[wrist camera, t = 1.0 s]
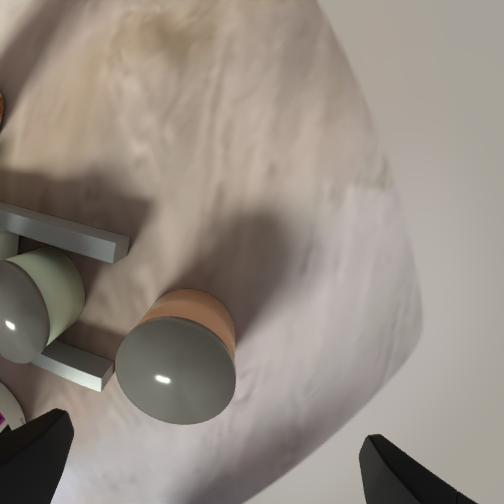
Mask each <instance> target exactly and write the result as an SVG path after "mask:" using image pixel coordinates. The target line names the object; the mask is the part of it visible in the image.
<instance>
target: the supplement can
mask: <svg viewBox="0 0 504 504" xmlns="http://www.w3.org/2000/svg"><path fill="white" fill-rule="evenodd" d="M24 424H26V422H25V417H24V413H23V411H22V409H21V407H20V405H19V403H18V402H17V400H16V399H15V397H14V396H13V394H12V393H11V392H10V391H9V390H8V389H7V388H6V387H5V385H4V384H3V383H1V382H0V436H2V435H4V434H6V433H8V432H10V431H12V430H14V429H16V428H18V427H20V426H22V425H24Z"/></svg>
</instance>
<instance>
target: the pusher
mask: <svg viewBox="0 0 504 504" xmlns="http://www.w3.org/2000/svg"><path fill="white" fill-rule="evenodd" d="M18 243H19V234H16V233H13V232H10V231H7V230H4V229H1V228H0V260H6V259H8V258H11V257H14V256H17V255H18Z"/></svg>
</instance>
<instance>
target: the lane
mask: <svg viewBox="0 0 504 504" xmlns="http://www.w3.org/2000/svg"><path fill="white" fill-rule="evenodd" d="M0 228H1V229H4V230H7V231H10V232H13V233H16V234H19V235H22V236H25V237H28V238H31V239H34V240H37V241H40V242H43V243H46V244H49V245H53V246H56V247H59V248H62V249H65V250H68V251H72V252H75V253H78V254H82V255H85V256H88V257H91V258H95V259H98V260H102V261H105V262H108V263H112V264H113V263H115V262H116V261H118V260H120V259H122V258H123V257H125V256H127V254H128V248H129V242H130V237H128V236H124V235H121V234H117V233H113V232H109V231H106V230H102V229H98V228H95V227H91V226H87V225H83V224H80V223H76V222H72V221H69V220H65V219H61V218H58V217H54V216H51V215H47V214H43V213H40V212H36V211H32V210H29V209H25V208H22V207H18V206H15V205H11V204H8V203H4V202H1V201H0ZM30 363H32V364H34V365H37V366H39V367H41V368H43V369H45V370H47V371H50V372H52V373H54V374H56V375H59V376H61V377H63V378H66V379H68V380H71V381H73V382H76V383H78V384H81V385H83V386H86V387H88V388H91V389H93V390H96V391H99V392H102V390H103V389H104V387H105V386H106V384H107V383H108V381H109V379H110V378H111V376H112V375H113V366H114V361H111V360H108V359H106V358H103V357H100V356H97V355H94V354H92V353H89V352H86V351H83V350H81V349H78V348H76V347H73V346H70V345H68V344H65V343H63V342H60V341H58V340H56V339H54V340H53V341H52V342H51V343H49V344H48V345H47V346H46V347H45V349H44V350H43V352H42V353H40V354H39V355H38V356H37V357H36V358H35V359H34V360H32V361H30Z"/></svg>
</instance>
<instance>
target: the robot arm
mask: <svg viewBox="0 0 504 504" xmlns="http://www.w3.org/2000/svg"><path fill="white" fill-rule="evenodd" d="M73 437H74V428H73V425H72V422H71V420H70V417H69V414H68V412H67V411H65V410H61V409H58V408H55V409H53V410H51V411H49V412H47V413H45V414H43V415H41V416H39V417H37V418H35V419H33V420H32V421H30V422H28V423H26V424H24V425H22V426H20V427H18V428H16V429H14V430H12V431H10V432H8V433H6V434H4V435H2V436H0V504H50V503H51V500H52V498H53V495H54V493H55V491H56V488H57V486H58V483H59V481H60V478H61V476H62V473H63V470H64V467H65V464H66V460H67V457H68V453H69V450H70V447H71V443H72V440H73ZM359 462H360V468H361V474H362V481H363V487H364V494H365V499H366V503H367V504H478V503H476V502H474V501H473V500H471V499H469V498H468V497H466V496H465V495H463V494H462V493H461V492H459V491H458V492H457V490H456V489H454V488H453V487H452V486H450V485H449V484H447V483H446V482H444V481H443V480H442V479H440V478H439V477H437V476H436V475H435V474H433V473H432V472H430V471H429V470H428V469H426V468H425V467H424V466H422V465H421V464H419V463H418V462H417V461H415V460H414V459H413V458H411V457H410V456H409V455H407V454H406V453H405V452H403V451H402V450H401V449H399V448H398V447H397V446H395V445H394V444H393V443H391V442H390V441H389V440H387V439H386V438H385V437H384V436H382V435H380V434H373V435H368V436H367V437H366V438H365V441H364V443H363V445H362V448H361V450H360V453H359Z"/></svg>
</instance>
